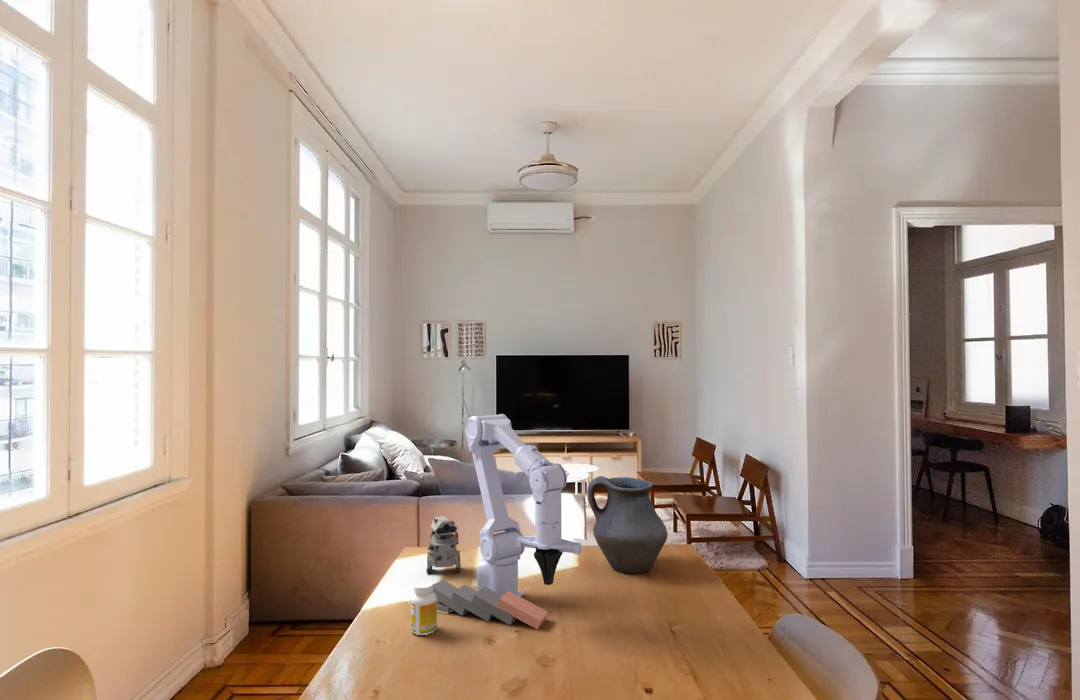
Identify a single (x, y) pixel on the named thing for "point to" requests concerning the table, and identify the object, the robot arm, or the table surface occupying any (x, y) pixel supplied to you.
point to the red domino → (522, 609)
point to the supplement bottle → (423, 609)
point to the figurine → (443, 545)
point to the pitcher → (627, 524)
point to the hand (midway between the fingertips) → (548, 583)
